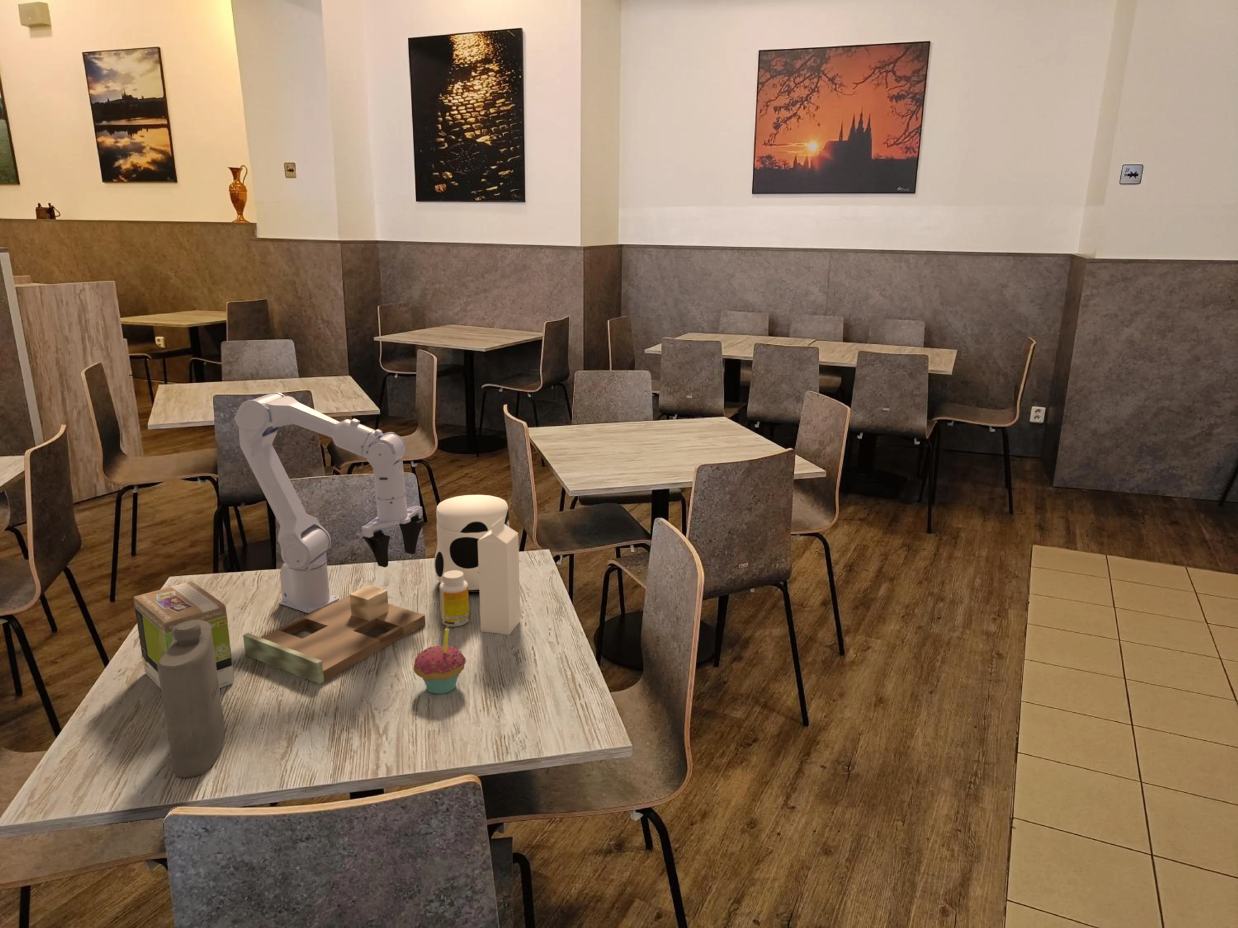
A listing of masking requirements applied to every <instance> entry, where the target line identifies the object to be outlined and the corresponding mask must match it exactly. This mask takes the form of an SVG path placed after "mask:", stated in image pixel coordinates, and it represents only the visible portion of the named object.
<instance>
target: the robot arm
mask: <svg viewBox="0 0 1238 928" xmlns="http://www.w3.org/2000/svg"><path fill="white" fill-rule="evenodd" d="M234 421H235V423H236V425H237V428H238V436H239V438H238V439H239V441H238V442H239V447H240V449H241V451H242V453H243V455H244V457H245V459H246V462H247V463H248V465H249V467H250V469H251V470H252V473H253V474H254V476H255V478H256V481H257V482H258V485H259V486H260V489H261V490H262V493H263V494H264V497H265V498H266V500H267V502H268V504H269V506H270V508H271V510H272V512H273V514H274V516H275V518H276V520H277V522H278V524H279V531H278V536H277V542H278V544H279V546H280V554H281V555H280V556H281V559H282V561H283V564H282V566H281V568H280V571H279V581H280V590H281V591H280V592H281V598H282V599H281V600H279V601H278V603H279V604H280V605H282V606H286V607H287V608H291V609H295V610H298V611H301V612H303V613H306V614H311V613H313V612H316V611H318V610H320V609H322V608H324V607H326V606H328V605H330V604H333V603H335V602H337V601H339V600H340V597H339V596H336V595H334V594H330V592H331V591H330V586H329V585H330V583H329V571H328V562H327V561H328V560H327V551H328V550H329V549H330V547H331V544H332V538H331V535H330V533H329V531H327V530H326V529H325V528H324V527H323V526H322V525H321V524H320V523H319V520H318V518H316V517H315V516H312V515H310V514H308V513H307V512H306V509H305V507H304V506H303V504H302V502H301V500H300V498H299V496H298V494H297V492H296V489H295V488H294V485H293V484H292V481H291V480H290V477H289V476H288V475H289V474H287V472H286V469H285V467H284V466H283V464H282V462H281V460H280V457H279V456H278V454H277V452H276V449H275V448H274V446H273V442H274V440H275V438H276V436H277V433H278V431H279V430H280V428H282V427H285V426H290V425H295V426H299V427H301V428H304V429H307V430H310V431H313V432H315V433H318V434H320V435H324V436H327V437H329V438H331V439H332V441H333V443H334V445H335V446H336V447H338V448H340V449H342V450H345V451H348V452H350V453H352V454H355V455H357V456H360V457H362V458H364V459H366V461H367V462H368V463H369V465H370V466H371V468H372V470H373V480H374V489H375V490H374V492H375V501H376V509H377V510H376V512H377V516H376V517H374V519H372V520H371V521H369V522H368V523H367V524H365V525H362V526H361V532H362V539H363V540H364V541H365V542H366V543H367V545H368V546H369V548H370V550H371V551H372V554H373V556H374V558H375V561H376V564H377V566H378V567H382V568H388V567H389V543H390V539H391V536H390V535H386V534H385V533H384V532H383V531H386V530H387V529H391V528H392V527H393V528H394V527H395V526H397V525H398V526H399V528H400V531H401V534H402V536H401V537H402V541H403V548H404V552H405V553H406V554H409V555H415V554H416V551H417V544H418V539H419V536H420V533H421V531H422V528H423V527H424V524H425V521H424V519H423V518H422V517H423V507H422V506H418V505H413V506H410V507H409V506H408V504H407V495H406V492H407V491H406V483H405V471H404V463H403V459H402V458H403V457H404V456H405V454H406V452H407V444H406V442H405V440H404V439H403V438H402V437H401V436H400V435H398V434H397V433H396V432H393V431H389V432H385V433H383V431H382V430H381V429H373V428H371V427H369V426H366V425H364V424H361V423H360V422H361V420H360V419H359V420H358V419H356V418H353V419H349V418H348V419H344V420H341V421H338V420H336V419H334V418H332V417H330V416H328V415H326V414H324V413H322V412H321V411H320V412H319V411H318V410H316V409H314V408H311V407H309V406H308V405H305V404H303V403H301V402H299V401H298V400H296V399H295V398H294V397H292V396H289V395H285V394H283V393H281V392H278V391H274V392H273V391H271V392H270V393H269V392H268V393H267V394H266V395H263V396H259V397H257V398H254V399H248V400H246V401H244V402H242V403H241V404H240V405H239V406H238V409H237V411H236V414H235V416H234Z"/></svg>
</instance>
